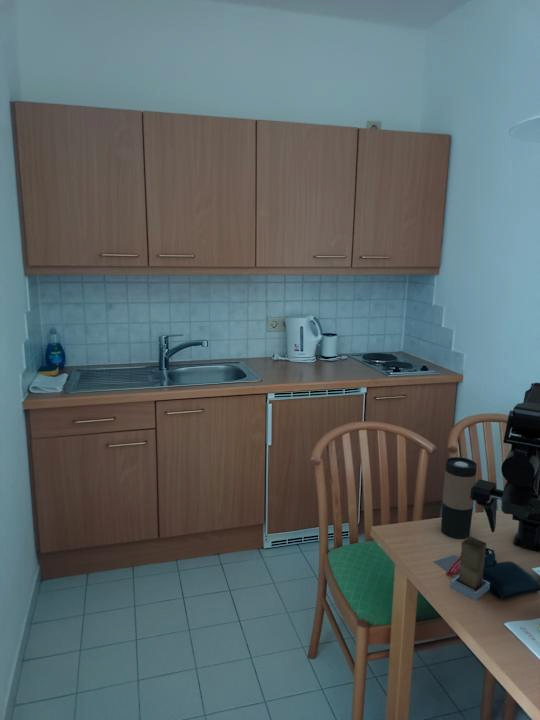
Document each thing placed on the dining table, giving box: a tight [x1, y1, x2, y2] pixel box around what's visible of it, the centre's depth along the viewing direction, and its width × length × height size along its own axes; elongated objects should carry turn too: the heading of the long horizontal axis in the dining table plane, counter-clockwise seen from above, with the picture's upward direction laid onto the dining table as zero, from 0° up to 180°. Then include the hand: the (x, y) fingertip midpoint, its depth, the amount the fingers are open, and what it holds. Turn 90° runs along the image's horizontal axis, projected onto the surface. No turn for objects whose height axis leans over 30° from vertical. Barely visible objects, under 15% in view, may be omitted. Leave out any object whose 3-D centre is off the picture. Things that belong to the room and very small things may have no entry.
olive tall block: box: [459, 535, 487, 592], centre depth 114 cm, size 4×4×11 cm
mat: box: [432, 554, 460, 578], centre depth 124 cm, size 7×7×1 cm
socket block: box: [449, 575, 491, 602], centre depth 115 cm, size 6×6×2 cm
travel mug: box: [440, 456, 478, 540], centre depth 137 cm, size 8×8×20 cm
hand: (516, 538), depth 109 cm, fingers open, 9 cm apart
